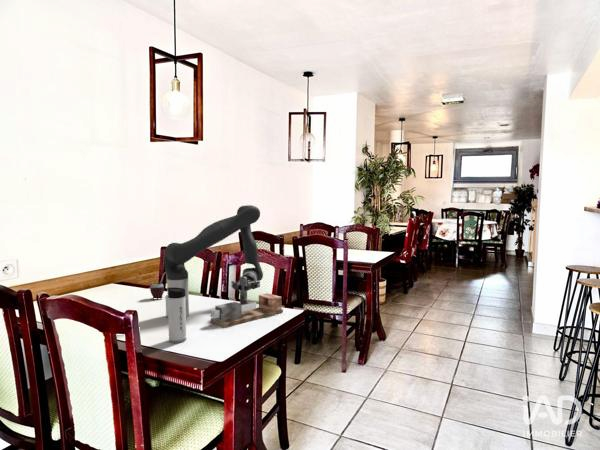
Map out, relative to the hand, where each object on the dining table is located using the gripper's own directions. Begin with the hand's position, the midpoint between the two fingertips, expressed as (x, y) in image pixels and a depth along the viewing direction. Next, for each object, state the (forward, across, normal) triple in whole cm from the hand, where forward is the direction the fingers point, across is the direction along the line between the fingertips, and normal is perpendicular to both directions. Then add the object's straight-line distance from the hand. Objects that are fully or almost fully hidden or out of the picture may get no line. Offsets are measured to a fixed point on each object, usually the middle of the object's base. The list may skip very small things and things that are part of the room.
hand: (242, 288), depth 176 cm
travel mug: (+26, -21, +14) cm, 36 cm away
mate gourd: (-39, -52, +14) cm, 66 cm away
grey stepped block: (+1, -4, +10) cm, 11 cm away
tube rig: (-5, +2, +14) cm, 15 cm away
